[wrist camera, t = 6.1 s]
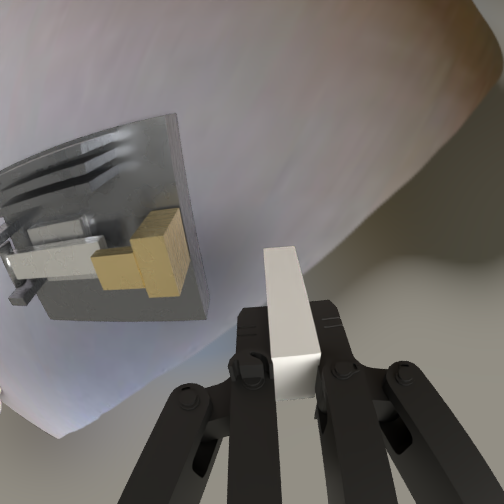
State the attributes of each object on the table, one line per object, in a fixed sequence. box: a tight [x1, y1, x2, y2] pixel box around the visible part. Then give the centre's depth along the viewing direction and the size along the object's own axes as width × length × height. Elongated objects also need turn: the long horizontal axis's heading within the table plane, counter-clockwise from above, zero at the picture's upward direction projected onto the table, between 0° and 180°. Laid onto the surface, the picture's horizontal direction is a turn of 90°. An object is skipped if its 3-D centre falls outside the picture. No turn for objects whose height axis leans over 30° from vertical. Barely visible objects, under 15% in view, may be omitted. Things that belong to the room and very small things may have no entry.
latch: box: [90, 208, 191, 298], centre depth 17 cm, size 5×4×4 cm
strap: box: [0, 235, 108, 288], centre depth 18 cm, size 12×4×1 cm, turn 95°
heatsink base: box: [0, 113, 210, 322], centre depth 19 cm, size 18×16×7 cm
